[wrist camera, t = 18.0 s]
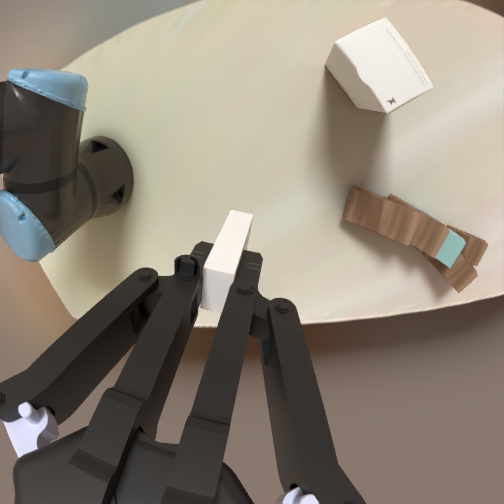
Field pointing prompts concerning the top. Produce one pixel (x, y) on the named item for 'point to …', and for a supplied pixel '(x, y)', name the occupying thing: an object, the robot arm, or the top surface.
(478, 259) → the domino
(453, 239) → the teal tile
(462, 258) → the domino
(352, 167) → the top surface
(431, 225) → the domino
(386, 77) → the skincare box
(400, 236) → the domino
